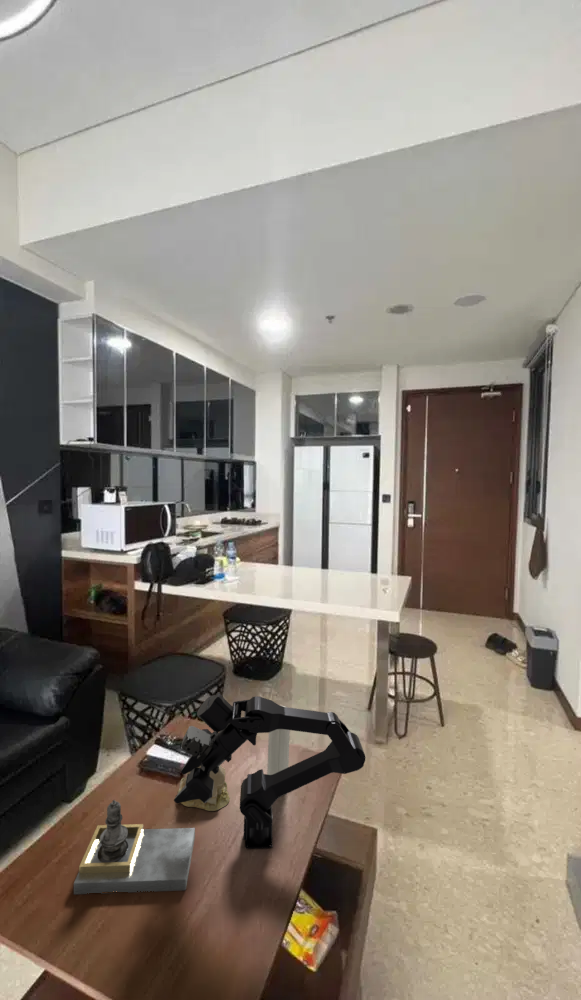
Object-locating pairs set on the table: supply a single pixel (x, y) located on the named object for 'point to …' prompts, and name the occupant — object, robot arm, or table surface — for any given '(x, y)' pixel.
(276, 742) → the paper towel roll
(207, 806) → the ceramic model
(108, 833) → the grey tiered ornament
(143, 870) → the grey slab
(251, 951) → the table surface
